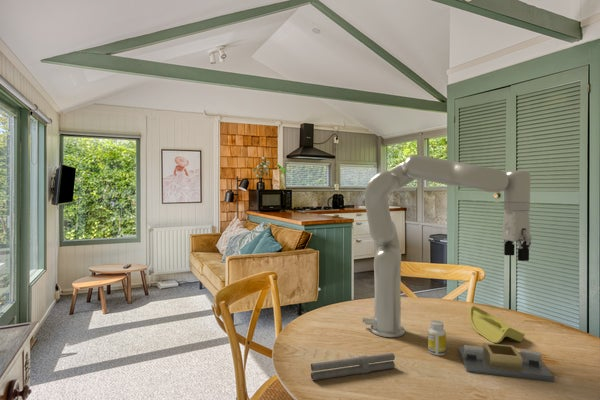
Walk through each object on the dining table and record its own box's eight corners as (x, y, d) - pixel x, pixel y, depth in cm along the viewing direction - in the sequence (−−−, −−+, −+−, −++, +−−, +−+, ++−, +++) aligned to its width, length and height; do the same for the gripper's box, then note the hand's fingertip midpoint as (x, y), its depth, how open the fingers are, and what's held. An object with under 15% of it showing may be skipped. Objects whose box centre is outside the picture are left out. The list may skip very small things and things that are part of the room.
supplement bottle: (446, 350, 118) (446, 321, 118) (445, 357, 113) (445, 326, 113) (428, 347, 120) (429, 318, 120) (427, 354, 115) (427, 324, 115)
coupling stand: (466, 371, 104) (466, 356, 104) (458, 350, 118) (458, 337, 117) (553, 381, 98) (553, 365, 98) (534, 358, 112) (534, 344, 112)
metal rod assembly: (313, 383, 99) (313, 365, 99) (310, 378, 101) (310, 360, 101) (396, 370, 105) (396, 354, 105) (392, 366, 108) (392, 349, 108)
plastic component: (528, 336, 124) (506, 325, 122) (518, 355, 124) (496, 345, 122) (488, 312, 143) (468, 303, 141) (479, 329, 143) (460, 320, 141)
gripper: (494, 206, 130) (493, 253, 130) (517, 208, 112) (516, 262, 113) (516, 206, 129) (515, 253, 129) (543, 208, 112) (542, 263, 112)
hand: (515, 257), depth 121 cm, fingers open, 9 cm apart
